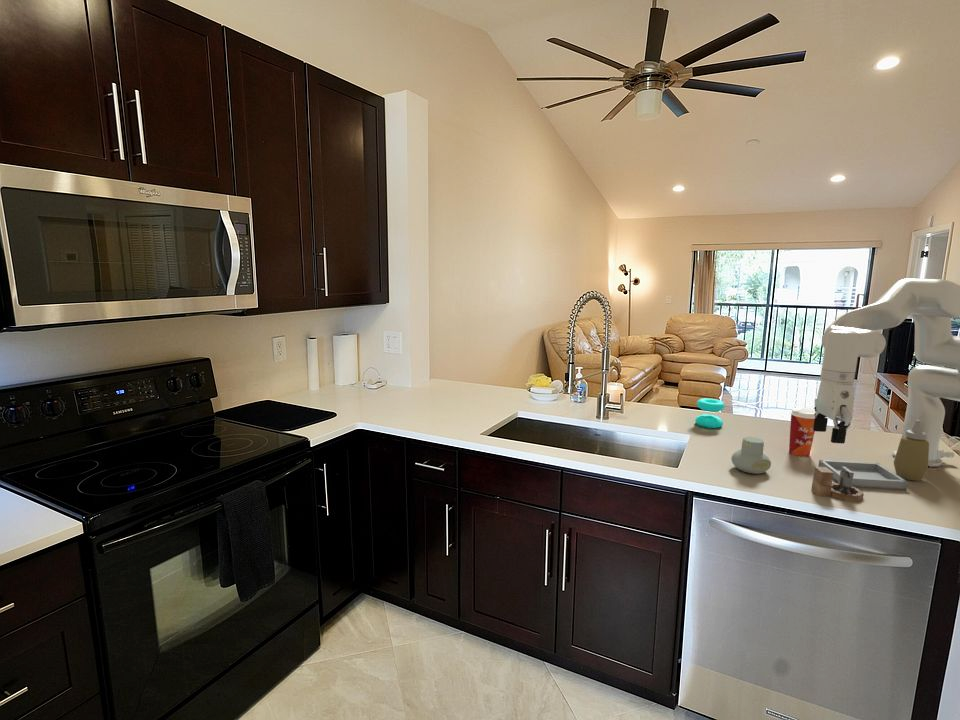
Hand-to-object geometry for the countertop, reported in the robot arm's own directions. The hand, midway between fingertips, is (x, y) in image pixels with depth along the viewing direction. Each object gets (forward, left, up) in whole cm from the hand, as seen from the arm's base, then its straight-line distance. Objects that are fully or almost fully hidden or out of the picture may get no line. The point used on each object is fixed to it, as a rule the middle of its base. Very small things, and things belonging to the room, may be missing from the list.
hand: (828, 436), depth 143 cm
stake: (-6, 0, -17) cm, 18 cm away
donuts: (+14, -59, -17) cm, 63 cm away
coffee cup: (-8, -32, -17) cm, 37 cm away
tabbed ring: (-5, 0, -17) cm, 17 cm away
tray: (-17, -13, -17) cm, 27 cm away
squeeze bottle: (-32, -16, -17) cm, 40 cm away
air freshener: (+14, -14, -17) cm, 26 cm away
